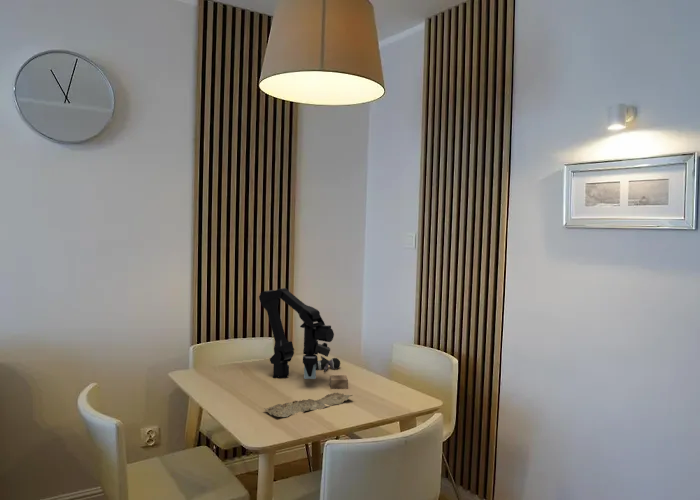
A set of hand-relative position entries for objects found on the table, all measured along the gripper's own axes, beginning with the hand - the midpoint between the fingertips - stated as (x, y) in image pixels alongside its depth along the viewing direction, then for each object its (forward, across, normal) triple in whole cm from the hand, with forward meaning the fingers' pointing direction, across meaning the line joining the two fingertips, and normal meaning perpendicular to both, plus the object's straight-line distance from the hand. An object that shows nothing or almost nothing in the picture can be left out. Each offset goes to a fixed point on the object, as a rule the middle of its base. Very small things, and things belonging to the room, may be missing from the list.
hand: (309, 374), depth 225 cm
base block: (+4, -4, -12) cm, 14 cm away
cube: (+1, 0, 0) cm, 1 cm away
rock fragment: (+4, -30, 0) cm, 30 cm away
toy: (+4, +22, -7) cm, 24 cm away
